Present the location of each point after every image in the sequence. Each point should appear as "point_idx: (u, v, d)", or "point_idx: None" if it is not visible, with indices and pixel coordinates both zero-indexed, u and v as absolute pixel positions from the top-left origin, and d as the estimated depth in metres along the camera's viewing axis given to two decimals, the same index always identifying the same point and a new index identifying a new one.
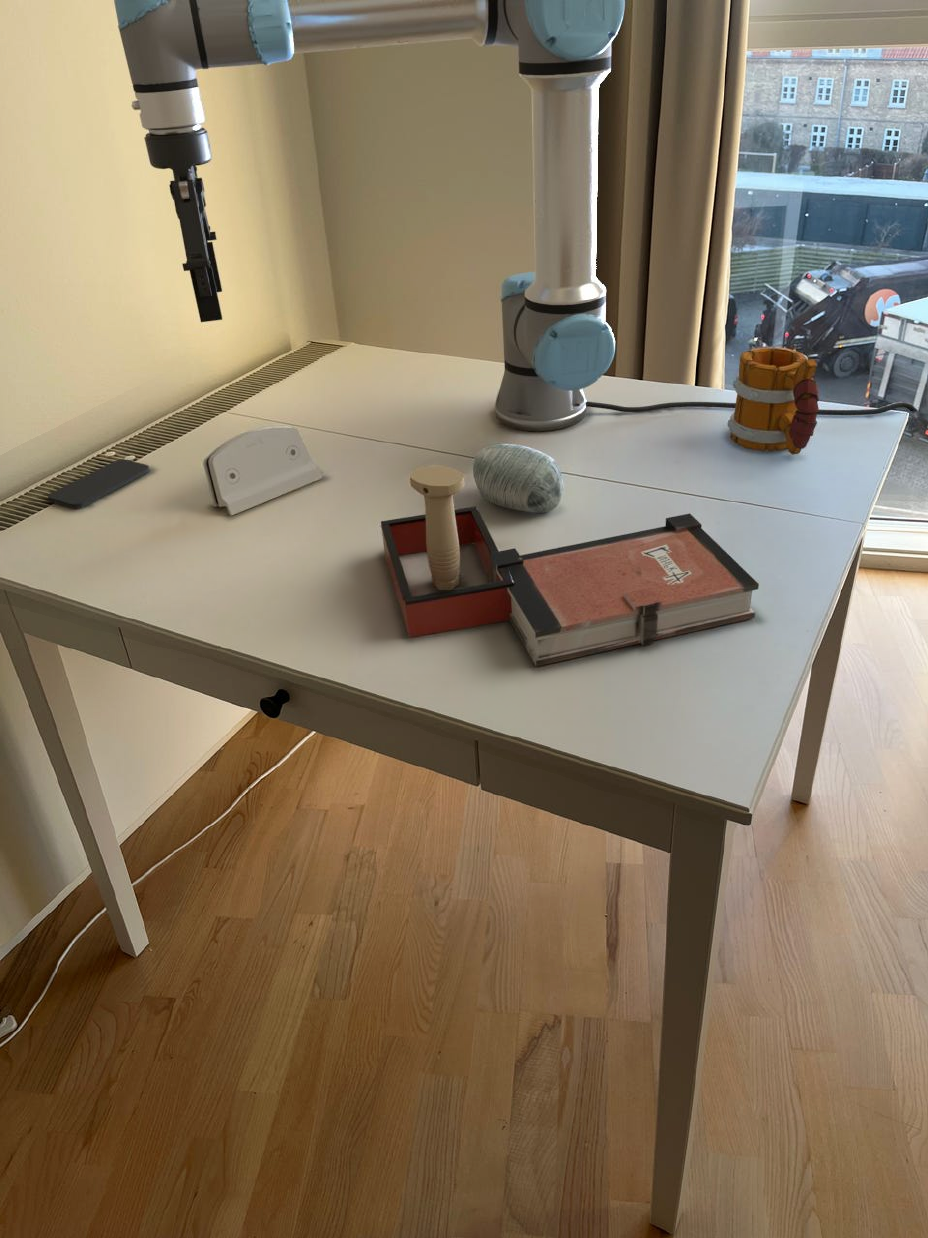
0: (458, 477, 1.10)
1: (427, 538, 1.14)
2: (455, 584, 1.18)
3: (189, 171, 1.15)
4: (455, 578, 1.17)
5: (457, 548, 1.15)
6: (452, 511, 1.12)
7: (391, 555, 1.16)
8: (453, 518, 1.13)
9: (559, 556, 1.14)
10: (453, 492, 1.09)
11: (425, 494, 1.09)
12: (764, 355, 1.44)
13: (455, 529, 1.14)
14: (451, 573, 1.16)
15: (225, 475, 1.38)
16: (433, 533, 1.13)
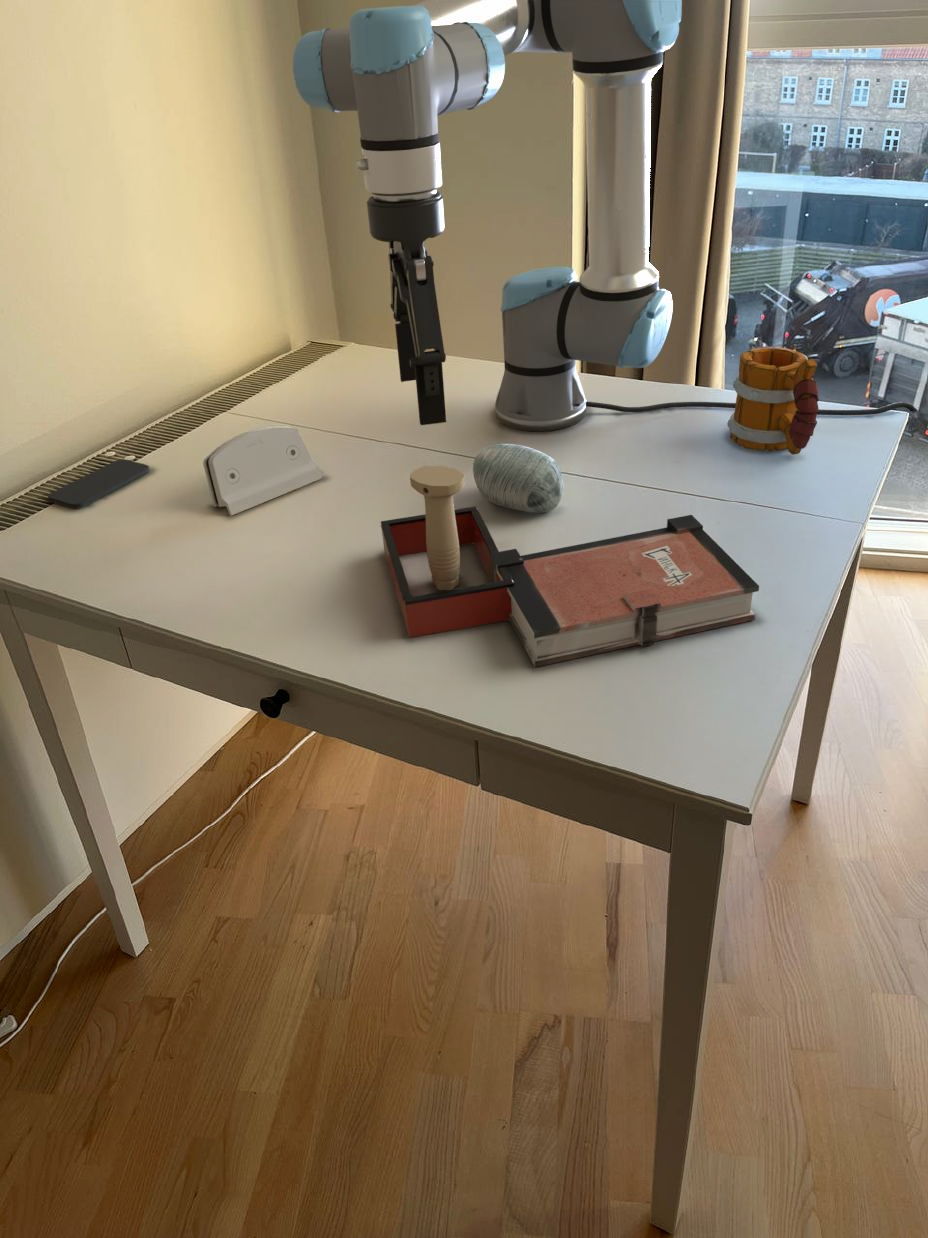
0: (458, 477, 1.10)
1: (427, 538, 1.14)
2: (455, 584, 1.18)
3: (422, 245, 0.93)
4: (455, 578, 1.17)
5: (457, 548, 1.15)
6: (452, 511, 1.12)
7: (391, 555, 1.16)
8: (453, 518, 1.13)
9: (560, 556, 1.14)
10: (453, 492, 1.09)
11: (425, 494, 1.09)
12: (764, 355, 1.44)
13: (455, 529, 1.14)
14: (451, 573, 1.16)
15: (225, 475, 1.38)
16: (433, 533, 1.13)
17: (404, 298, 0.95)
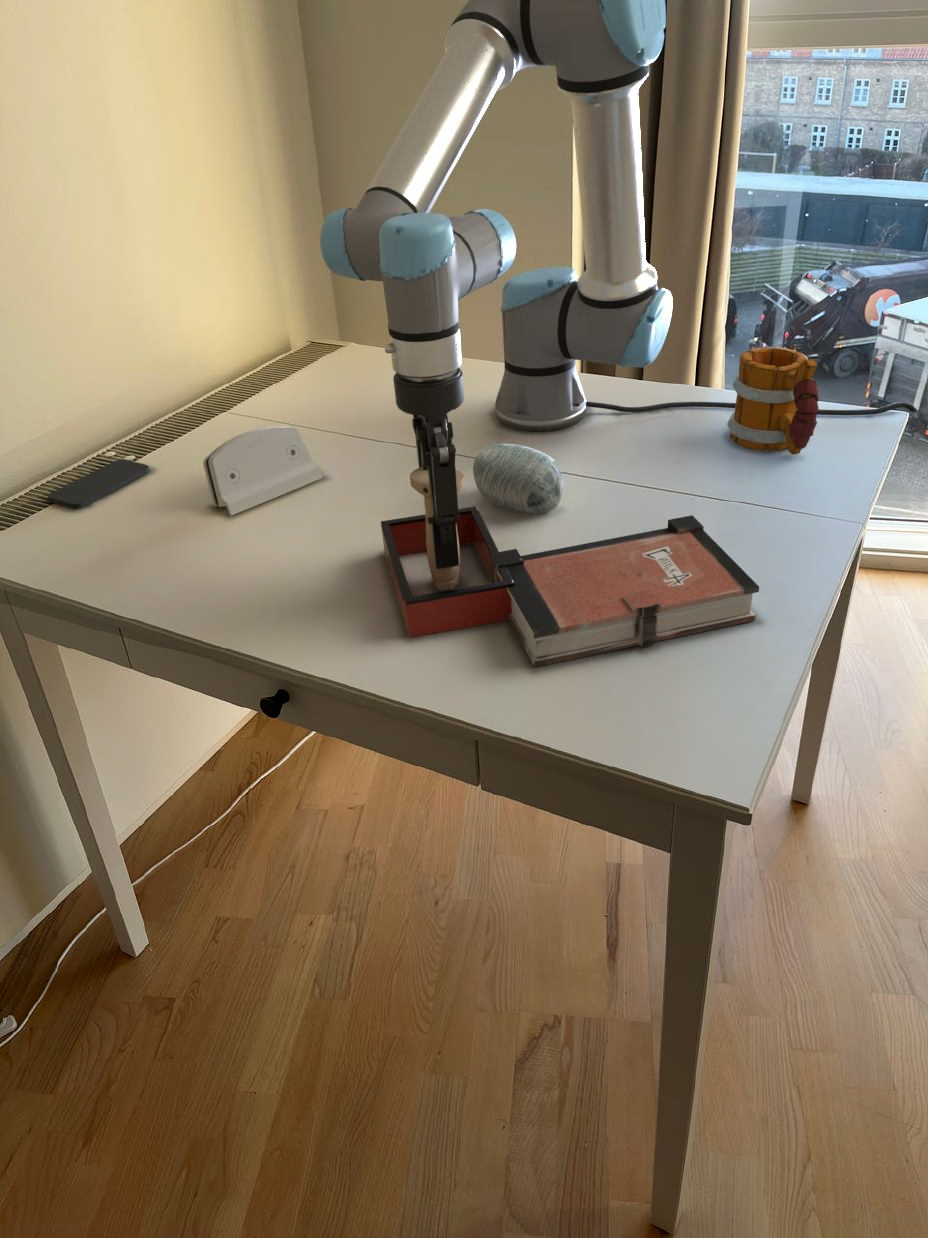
0: (458, 477, 1.10)
1: (427, 538, 1.14)
2: (455, 584, 1.18)
3: (444, 418, 1.03)
4: (455, 578, 1.17)
5: None
6: None
7: (391, 555, 1.16)
8: None
9: (560, 557, 1.14)
10: None
11: (425, 494, 1.09)
12: (764, 355, 1.44)
13: None
14: (451, 573, 1.16)
15: (225, 475, 1.38)
16: None
17: (426, 465, 1.07)
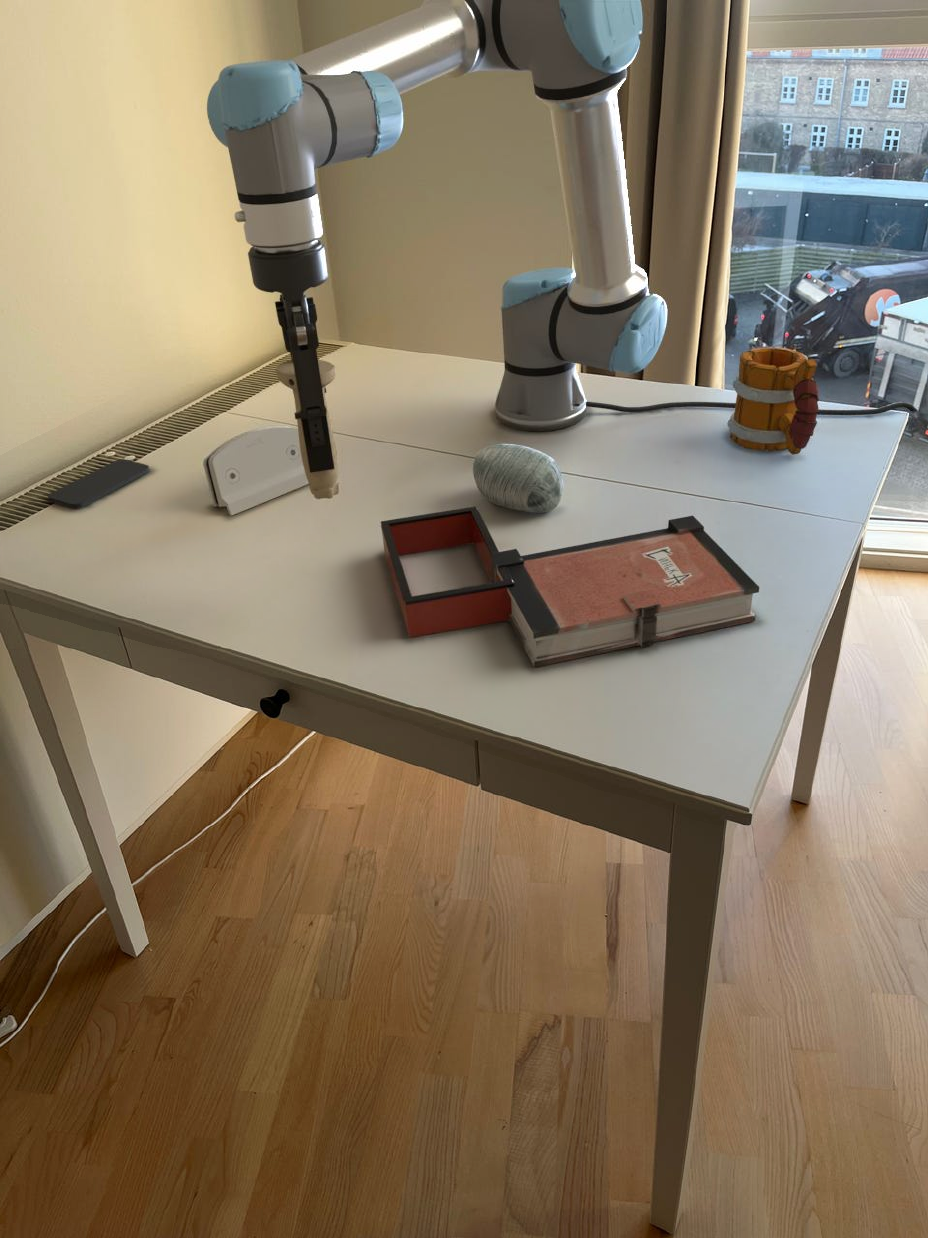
0: (327, 368, 1.00)
1: (299, 439, 1.05)
2: (334, 493, 1.09)
3: (303, 295, 0.94)
4: (333, 485, 1.08)
5: (333, 451, 1.06)
6: None
7: (391, 555, 1.16)
8: None
9: (560, 557, 1.14)
10: (321, 383, 1.00)
11: (291, 386, 1.00)
12: (764, 355, 1.44)
13: (329, 429, 1.04)
14: (328, 479, 1.07)
15: (225, 475, 1.38)
16: None
17: None
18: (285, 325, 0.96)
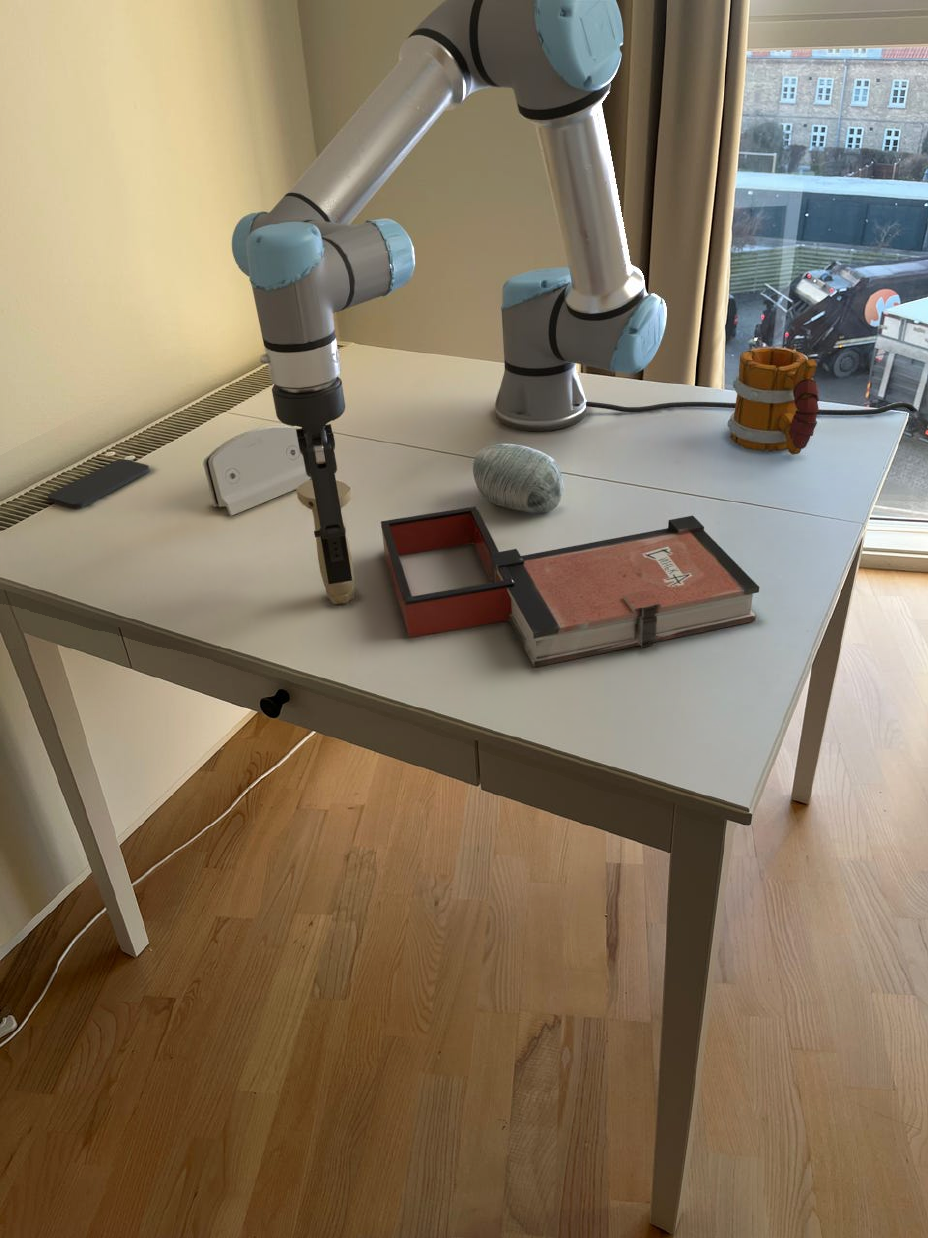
0: (344, 491, 1.08)
1: (318, 552, 1.13)
2: (350, 598, 1.17)
3: (323, 429, 1.02)
4: (349, 592, 1.16)
5: None
6: None
7: (391, 555, 1.16)
8: None
9: (560, 557, 1.14)
10: None
11: (311, 508, 1.08)
12: (764, 355, 1.44)
13: None
14: (344, 587, 1.15)
15: (225, 475, 1.38)
16: None
17: (308, 474, 1.04)
18: None
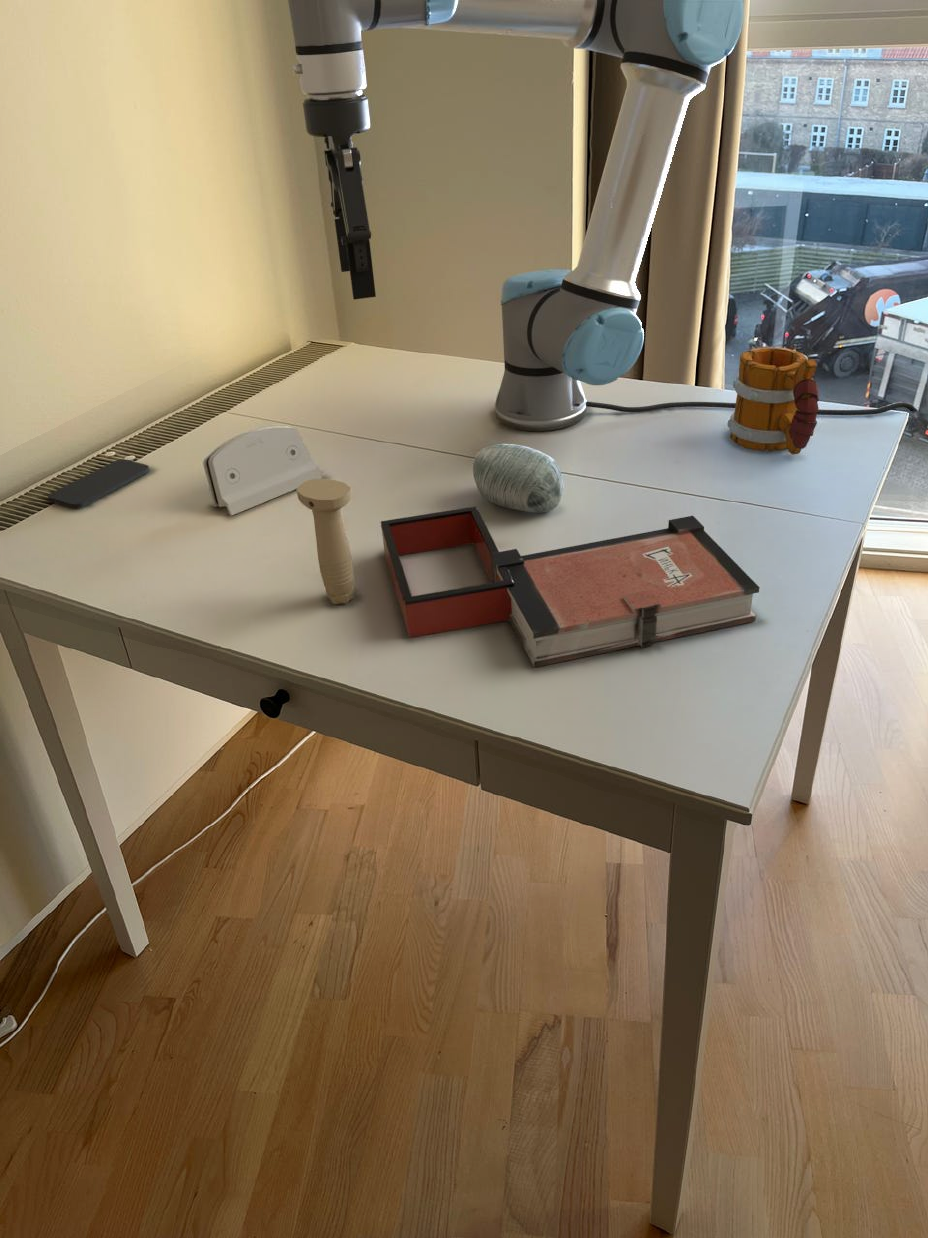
0: (344, 491, 1.09)
1: (318, 552, 1.13)
2: (350, 598, 1.17)
3: (350, 139, 1.10)
4: (349, 592, 1.16)
5: (349, 562, 1.14)
6: (341, 525, 1.11)
7: (391, 555, 1.16)
8: (342, 532, 1.12)
9: (560, 557, 1.14)
10: (338, 506, 1.08)
11: (311, 508, 1.08)
12: (764, 355, 1.44)
13: (345, 543, 1.13)
14: (344, 587, 1.15)
15: (225, 475, 1.38)
16: (322, 546, 1.12)
17: (336, 186, 1.12)
18: None
